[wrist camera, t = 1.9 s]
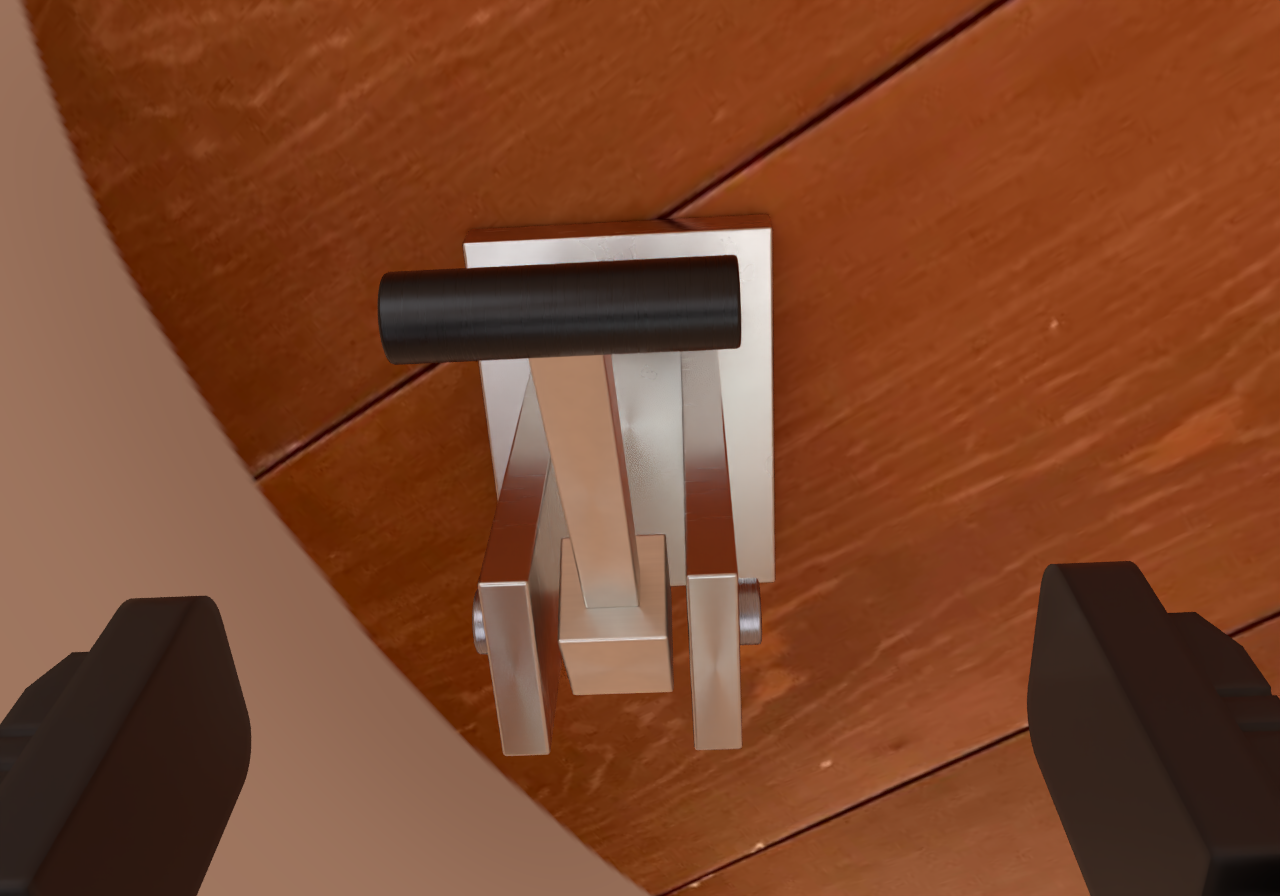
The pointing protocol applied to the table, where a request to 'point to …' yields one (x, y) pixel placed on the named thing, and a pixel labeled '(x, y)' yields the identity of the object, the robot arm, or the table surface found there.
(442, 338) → the lever
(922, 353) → the table surface
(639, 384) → the bracket
